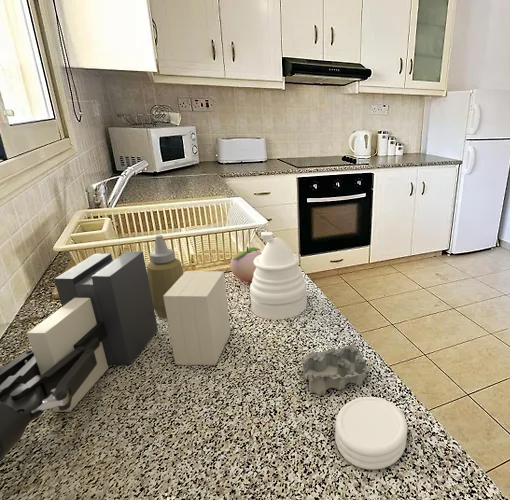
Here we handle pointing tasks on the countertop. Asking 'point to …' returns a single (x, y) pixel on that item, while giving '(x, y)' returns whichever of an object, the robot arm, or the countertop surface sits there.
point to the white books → (198, 317)
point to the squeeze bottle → (162, 274)
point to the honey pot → (277, 282)
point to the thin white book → (66, 341)
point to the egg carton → (334, 369)
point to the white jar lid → (371, 432)
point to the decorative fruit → (244, 264)
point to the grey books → (114, 301)
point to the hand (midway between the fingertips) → (93, 329)
